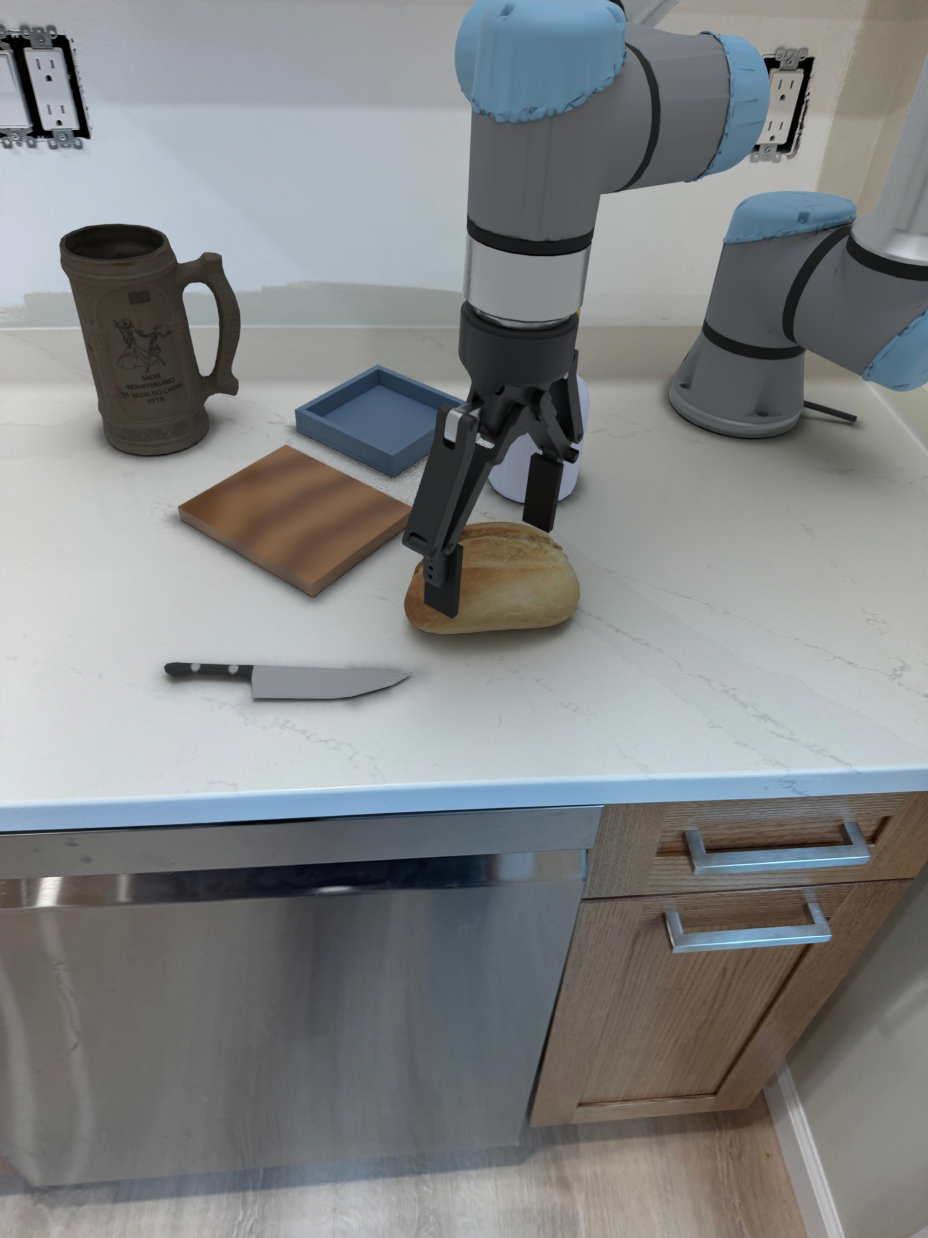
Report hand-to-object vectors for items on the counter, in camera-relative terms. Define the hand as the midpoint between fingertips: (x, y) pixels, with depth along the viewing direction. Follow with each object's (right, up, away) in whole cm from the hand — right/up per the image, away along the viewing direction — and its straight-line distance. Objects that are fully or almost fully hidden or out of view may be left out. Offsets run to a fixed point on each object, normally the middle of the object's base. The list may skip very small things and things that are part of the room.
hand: (492, 564), depth 66 cm
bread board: (-18, +5, +12) cm, 22 cm away
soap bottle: (+5, +10, +19) cm, 22 cm away
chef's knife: (-16, -10, -3) cm, 19 cm away
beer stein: (-33, +17, +23) cm, 43 cm away
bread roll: (0, -4, +4) cm, 6 cm away
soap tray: (-11, +17, +25) cm, 32 cm away
